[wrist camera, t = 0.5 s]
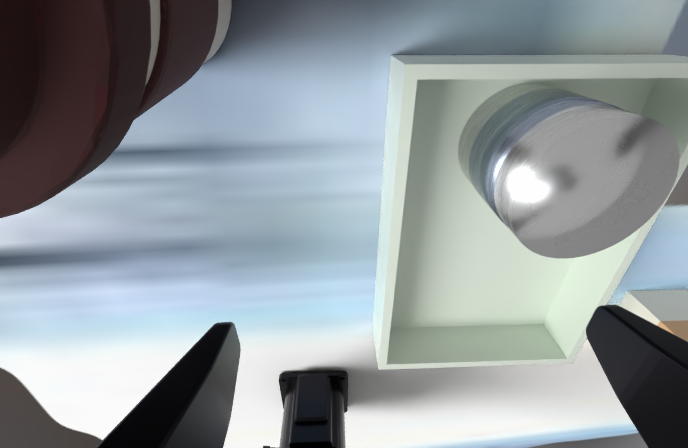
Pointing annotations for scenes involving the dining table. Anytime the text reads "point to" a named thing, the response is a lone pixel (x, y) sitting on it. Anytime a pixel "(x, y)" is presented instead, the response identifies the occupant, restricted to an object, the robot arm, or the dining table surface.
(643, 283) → the dining table surface
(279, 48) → the dining table surface
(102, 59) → the coffee cup
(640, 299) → the taped carton
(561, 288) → the tote
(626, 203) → the tin can
